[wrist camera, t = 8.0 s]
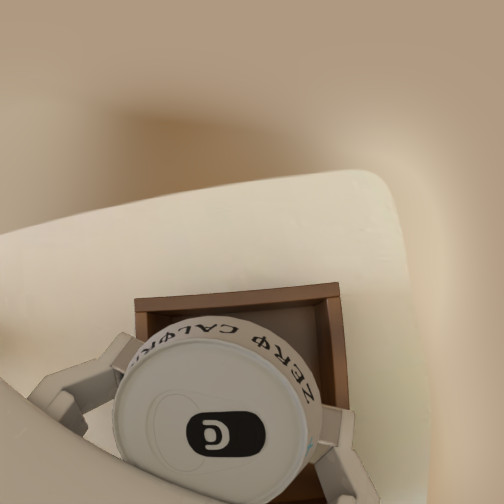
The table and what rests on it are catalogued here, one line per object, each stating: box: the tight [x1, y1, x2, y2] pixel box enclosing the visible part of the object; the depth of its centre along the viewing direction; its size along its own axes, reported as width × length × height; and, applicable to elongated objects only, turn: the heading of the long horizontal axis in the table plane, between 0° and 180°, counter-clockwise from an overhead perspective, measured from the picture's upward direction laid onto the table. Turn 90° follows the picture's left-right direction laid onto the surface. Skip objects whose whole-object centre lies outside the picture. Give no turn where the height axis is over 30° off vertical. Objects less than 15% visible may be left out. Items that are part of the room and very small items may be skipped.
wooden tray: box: [134, 282, 350, 504], centre depth 18 cm, size 17×12×6 cm
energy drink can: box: [112, 316, 323, 504], centre depth 14 cm, size 6×6×15 cm
